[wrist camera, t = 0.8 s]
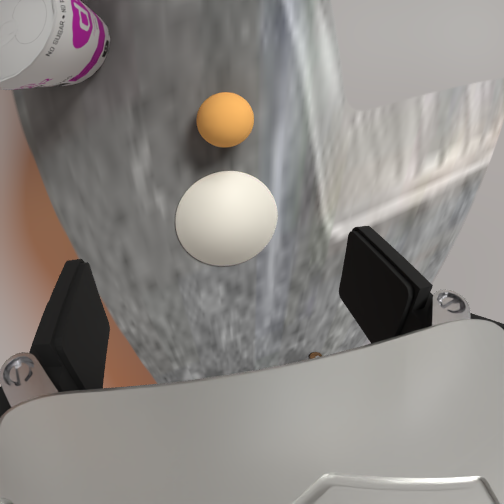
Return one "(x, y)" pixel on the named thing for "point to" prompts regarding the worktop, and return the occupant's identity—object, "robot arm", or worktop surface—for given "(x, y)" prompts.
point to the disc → (226, 218)
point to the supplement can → (49, 43)
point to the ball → (225, 119)
